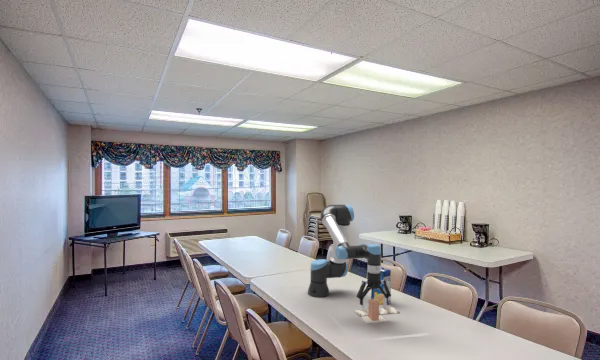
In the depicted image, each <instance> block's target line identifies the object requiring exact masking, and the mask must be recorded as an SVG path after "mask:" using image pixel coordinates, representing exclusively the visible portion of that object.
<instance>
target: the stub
mask: <svg viewBox="0 0 600 360" xmlns="http://www.w3.org/2000/svg"><path fill="white" fill-rule="evenodd" d="M379 308H380V304H379V302H378V301H377V300H376V299H371V298H370V299H368V316H362V317H360V319H361V320H362V321H363V322H364V323H365V324H366V325H367V324H377V323H386V322H387V320H386V318H384V317H383V315H379Z"/></svg>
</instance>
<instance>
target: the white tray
mask: <svg viewBox="0 0 600 360" xmlns="http://www.w3.org/2000/svg"><path fill="white" fill-rule="evenodd" d="M353 312H354V313H355V314H356V315H357V316H358V317H360V318H361V317H365V316H368V309H364V312H363V311H362V310H361V309H356V310H353ZM400 313H401V312H400V311H399V310H398V309H396V308H395V307H393V306H391V307H387V310H385V309H384V308H383V307H381V308H380V307H379V315H381V316H383V315H394V314H400Z"/></svg>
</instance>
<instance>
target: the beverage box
mask: <svg viewBox="0 0 600 360" xmlns="http://www.w3.org/2000/svg"><path fill="white" fill-rule="evenodd" d="M380 273H381V280H382V279H384V280H385V281H386V285H387V287H388V289H389V291H390V294H391V291H392V289H391V288H392V287H391V286H392V284H391V283H392V282H391V281H392V271H391V269H390V268H389V269H388V268H387V267H383V266H381V272H380ZM380 286H381V288H382V289H383V290H384V292H385V293H386V291H385V289H384V286H383V284H382V283H381V284H380ZM370 291H371V294H370V295H371V298H370V299H376V300H377V301H378V302H379V305H380V306H383V297H385V296H384V295H383V293H382V292H381V291H380V290H379V289H378V288H377V289H371V290H370ZM386 294H387V293H386ZM391 301H392V294H391V296H389V298H388V303H387V305H391V304H392V303H391Z"/></svg>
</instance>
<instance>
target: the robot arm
mask: <svg viewBox="0 0 600 360" xmlns="http://www.w3.org/2000/svg"><path fill="white" fill-rule="evenodd" d="M319 216H320V221H321V223H322V225H324V226H325V228H326V230H327V231H328V233H329V234H328V235H329V236H330V237H331V239H332V241H333V244H332V253H331V255H332V256H330V257H329V259H328V261H327V259H323V258H321V259H320V258H319V259H315V260H312V261H311V263H310V283H309V286H308V289H307V294H308V295H309V296H311V297H315V298H324V297H327V296H329V295H330V288H329V286H328V279H335V278H336V279H337V278H344V277H346V276H347V275H348V272H349V264H348V262H347V260H352V259H365V260H367V261H366V262H367V263H366V264H367V265H366V267H367V268H366V269H367V270H366V271H367V272H366V273H367V275H366V276H367V277H366V278H367V280H361V286H360V288H359V290H358V292H357V294H356V298H357V299H359V305H360V310H362V311H363V312H364V310H365V299H364V298H365V297H366V296H367V294H368V293H369V292H370V291H371V289H377V288H378V289H379V290H380V291H381V292H382V293H383V295H384V296H385V297H383V305H382V308H384V309H385V310H387V308H388V307H387V306H388V304H387V303H388V298H389V296H391V297H392V294H390V291H389V289H388V287H387V285H386V281H385V280H384V279H382V280H381V273H380V272H381V267H382V247H381V245H380V244H376V243H369V244H364V243H359V244H358V245H350V244H349V243H348V241H347V235H348V227H349V226H350V224H351V222H353V221H354V219H355V211H354V208H353V207H352V206H351V205H350V204H328V205H326V206H324V207H323V209H322V210H321V212H320V215H319ZM381 283H382V284H383V286H384V289H385V291H386V293H387V294H386V293H385V292H384V290H383V289H382V288H381V286H380V284H381Z"/></svg>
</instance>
